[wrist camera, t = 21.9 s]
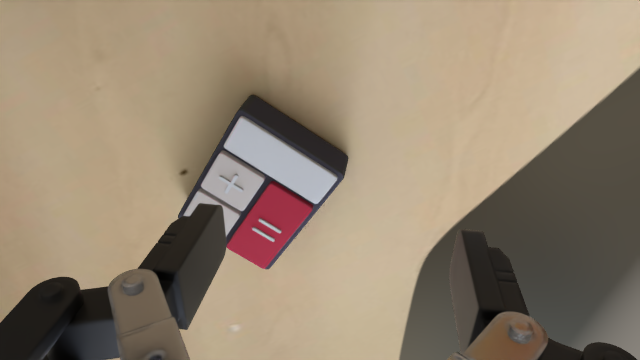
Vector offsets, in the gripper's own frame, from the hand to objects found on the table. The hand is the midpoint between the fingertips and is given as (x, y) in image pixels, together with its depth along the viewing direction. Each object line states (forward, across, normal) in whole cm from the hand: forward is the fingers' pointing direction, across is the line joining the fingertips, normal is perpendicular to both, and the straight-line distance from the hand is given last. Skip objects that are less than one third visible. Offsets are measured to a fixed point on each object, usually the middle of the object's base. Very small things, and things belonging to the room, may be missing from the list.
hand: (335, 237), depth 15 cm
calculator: (+26, +10, +13) cm, 31 cm away
